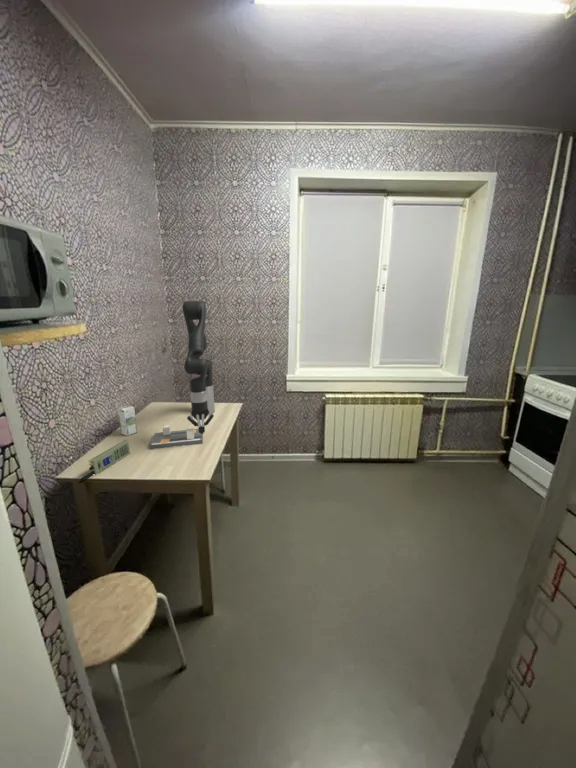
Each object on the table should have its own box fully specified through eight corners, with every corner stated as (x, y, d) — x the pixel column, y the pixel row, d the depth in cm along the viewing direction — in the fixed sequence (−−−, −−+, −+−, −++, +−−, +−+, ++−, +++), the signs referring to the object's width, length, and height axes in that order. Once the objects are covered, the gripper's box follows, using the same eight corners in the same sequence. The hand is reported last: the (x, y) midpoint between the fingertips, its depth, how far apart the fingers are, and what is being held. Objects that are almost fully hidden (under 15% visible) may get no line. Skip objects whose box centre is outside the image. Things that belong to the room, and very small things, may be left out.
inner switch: (164, 432, 162) (163, 425, 161) (170, 432, 163) (170, 424, 162) (163, 435, 158) (162, 428, 157) (170, 434, 159) (169, 427, 158)
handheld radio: (131, 453, 145) (86, 483, 121) (125, 453, 146) (79, 482, 122) (129, 440, 143) (82, 467, 120) (123, 439, 144) (75, 466, 121)
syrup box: (130, 430, 171) (127, 404, 167) (137, 432, 168) (134, 406, 165) (120, 434, 166) (116, 408, 163) (127, 436, 163) (123, 409, 160)
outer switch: (187, 436, 157) (187, 428, 156) (194, 435, 158) (193, 428, 157) (187, 439, 154) (186, 431, 153) (194, 438, 154) (193, 431, 153)
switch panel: (155, 436, 163) (154, 432, 162) (203, 431, 168) (202, 428, 168) (150, 449, 149) (149, 445, 148) (202, 443, 154) (202, 439, 154)
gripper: (213, 396, 157) (215, 429, 161) (185, 398, 154) (188, 431, 158) (213, 400, 150) (215, 434, 154) (184, 403, 147) (187, 437, 151)
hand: (201, 433), depth 156 cm, fingers closed
